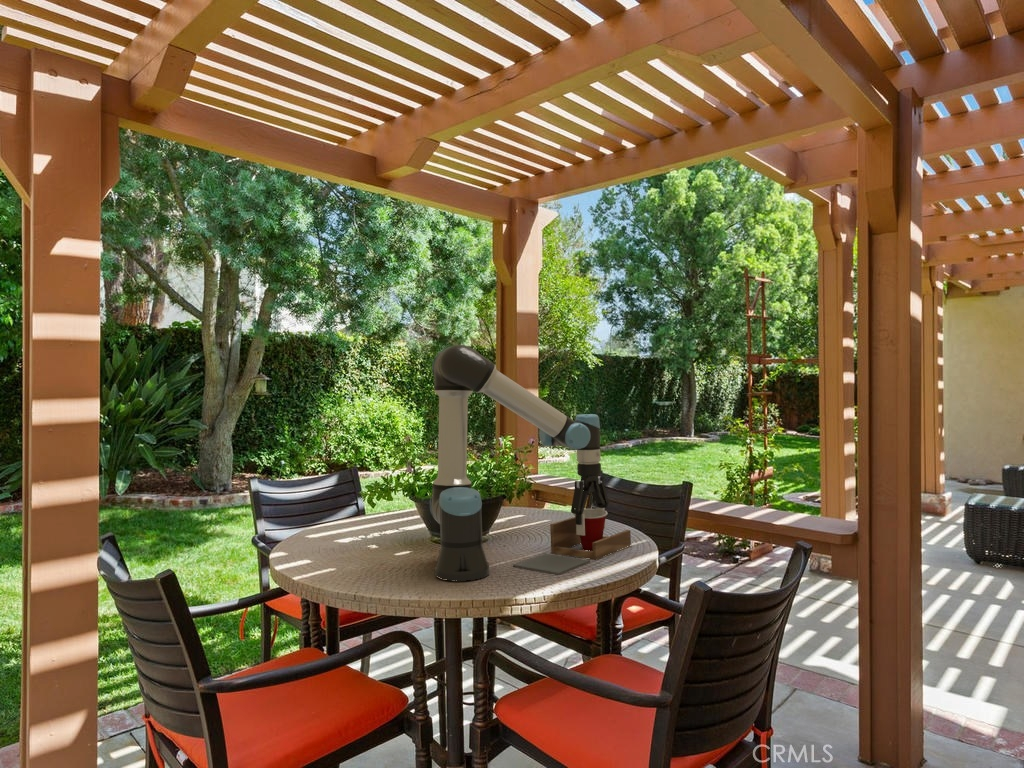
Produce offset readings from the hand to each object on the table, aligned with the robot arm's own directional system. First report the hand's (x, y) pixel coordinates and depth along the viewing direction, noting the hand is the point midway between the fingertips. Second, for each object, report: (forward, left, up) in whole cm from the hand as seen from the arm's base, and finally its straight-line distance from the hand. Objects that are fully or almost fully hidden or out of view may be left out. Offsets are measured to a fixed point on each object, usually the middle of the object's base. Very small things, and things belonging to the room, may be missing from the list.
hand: (591, 531), depth 208 cm
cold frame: (0, 0, -6) cm, 6 cm away
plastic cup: (0, 0, -6) cm, 6 cm away
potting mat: (0, -22, -6) cm, 23 cm away
